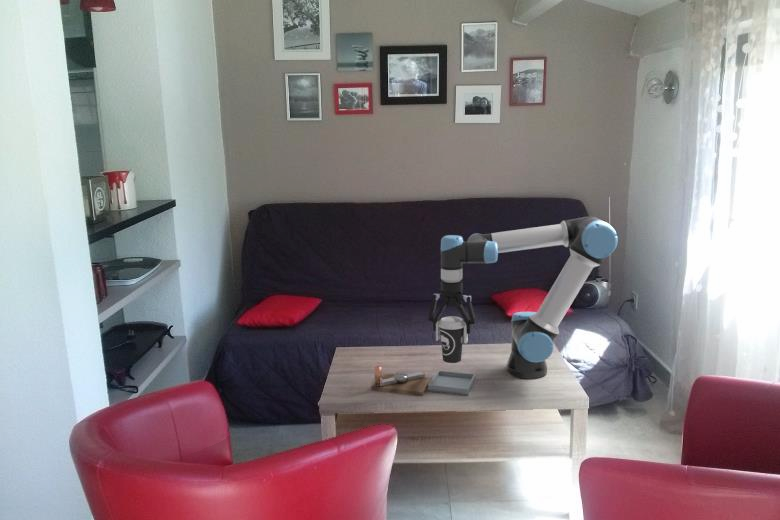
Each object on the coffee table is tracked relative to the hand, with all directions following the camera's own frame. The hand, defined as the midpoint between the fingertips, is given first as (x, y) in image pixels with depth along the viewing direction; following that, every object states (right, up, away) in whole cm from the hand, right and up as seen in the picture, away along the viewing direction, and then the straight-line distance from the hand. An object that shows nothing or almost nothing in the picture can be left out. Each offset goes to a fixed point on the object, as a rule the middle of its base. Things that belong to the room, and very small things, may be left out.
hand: (451, 340), depth 226 cm
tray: (+1, -17, +3) cm, 17 cm away
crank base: (-18, -17, +4) cm, 25 cm away
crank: (-18, -15, +5) cm, 24 cm away
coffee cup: (0, -7, +1) cm, 7 cm away
